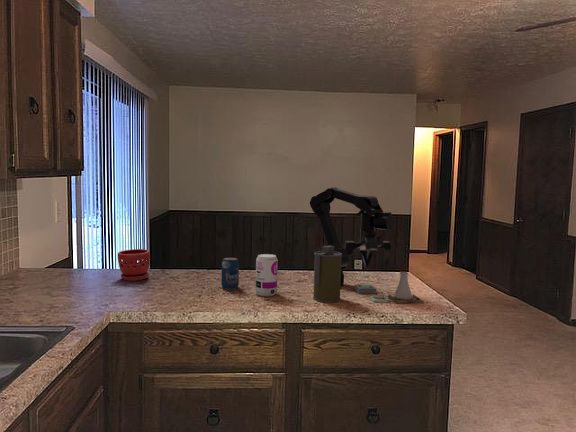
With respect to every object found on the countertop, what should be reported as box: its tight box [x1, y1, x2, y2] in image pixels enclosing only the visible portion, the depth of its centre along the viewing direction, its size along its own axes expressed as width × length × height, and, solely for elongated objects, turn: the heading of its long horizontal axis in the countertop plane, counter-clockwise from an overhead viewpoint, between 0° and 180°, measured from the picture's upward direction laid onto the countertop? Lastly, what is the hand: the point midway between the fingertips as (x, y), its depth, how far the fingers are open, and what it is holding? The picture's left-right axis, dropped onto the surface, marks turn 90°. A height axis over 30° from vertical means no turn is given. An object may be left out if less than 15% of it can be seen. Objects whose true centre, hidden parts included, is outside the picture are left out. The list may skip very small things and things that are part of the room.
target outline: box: [387, 293, 424, 305], centre depth 182 cm, size 10×10×1 cm
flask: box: [392, 271, 414, 301], centre depth 185 cm, size 7×7×10 cm
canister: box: [312, 245, 342, 304], centre depth 180 cm, size 11×10×20 cm
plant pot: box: [117, 248, 151, 282], centre depth 206 cm, size 13×13×12 cm
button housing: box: [354, 283, 377, 295], centre depth 194 cm, size 7×7×2 cm
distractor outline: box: [369, 295, 391, 303], centre depth 181 cm, size 6×6×1 cm
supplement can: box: [255, 253, 279, 297], centre depth 186 cm, size 8×8×15 cm
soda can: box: [220, 256, 240, 291], centre depth 194 cm, size 7×7×12 cm
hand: (366, 266), depth 193 cm, fingers closed
